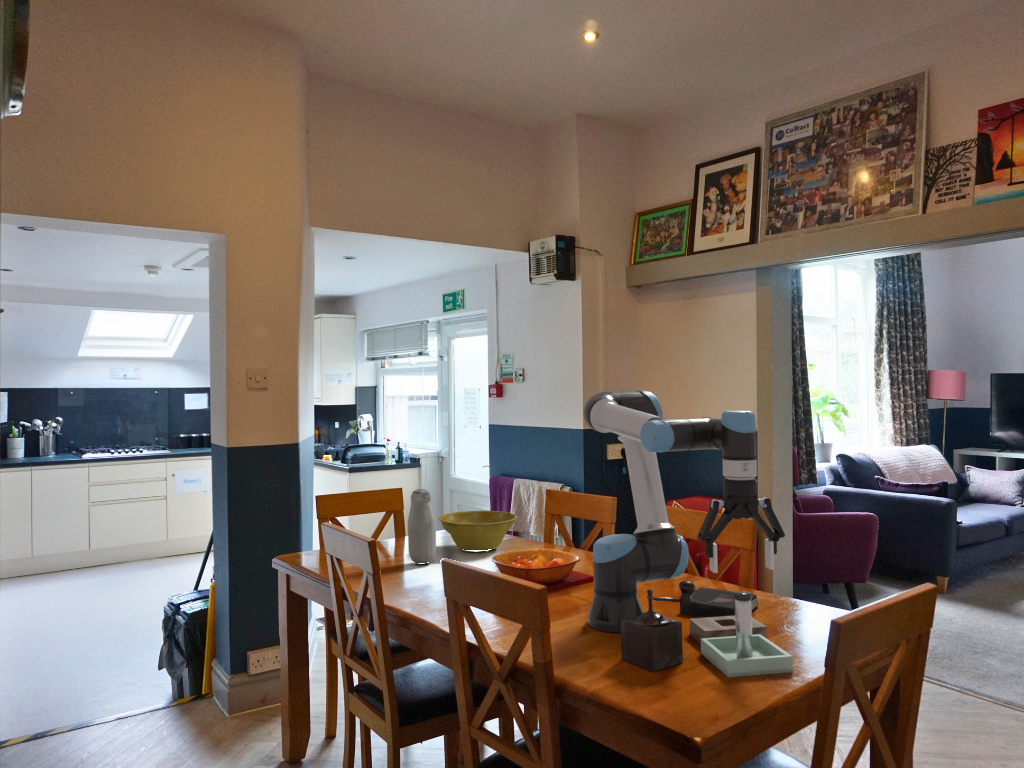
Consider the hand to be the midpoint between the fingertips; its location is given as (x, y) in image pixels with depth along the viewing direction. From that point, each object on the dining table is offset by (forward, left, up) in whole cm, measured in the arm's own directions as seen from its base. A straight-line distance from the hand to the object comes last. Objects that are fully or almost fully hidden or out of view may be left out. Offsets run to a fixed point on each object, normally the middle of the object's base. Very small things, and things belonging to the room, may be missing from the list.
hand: (741, 570), depth 167 cm
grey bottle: (-72, +117, -21) cm, 139 cm away
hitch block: (+3, +16, -21) cm, 26 cm away
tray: (0, 0, -21) cm, 21 cm away
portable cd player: (+11, +39, -22) cm, 46 cm away
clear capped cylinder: (0, 0, -20) cm, 20 cm away
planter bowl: (-49, +138, -21) cm, 148 cm away
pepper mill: (-18, +6, -21) cm, 28 cm away
